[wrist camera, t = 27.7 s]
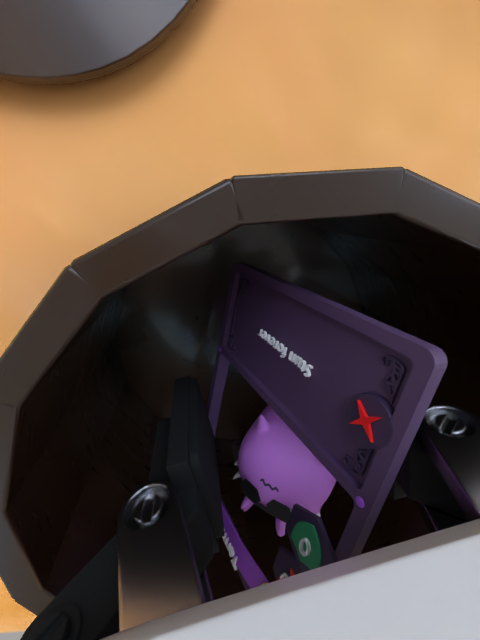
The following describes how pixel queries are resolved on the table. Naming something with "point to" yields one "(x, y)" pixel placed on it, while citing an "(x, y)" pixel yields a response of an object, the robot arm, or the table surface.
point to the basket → (214, 353)
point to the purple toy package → (317, 413)
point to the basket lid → (81, 36)
